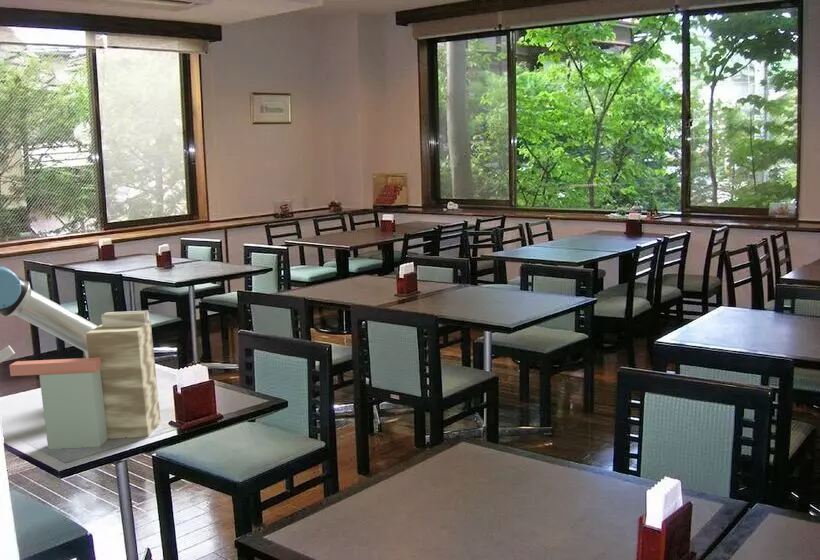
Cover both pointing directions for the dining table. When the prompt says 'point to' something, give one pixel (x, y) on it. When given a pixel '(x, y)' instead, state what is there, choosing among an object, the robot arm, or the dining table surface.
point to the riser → (73, 410)
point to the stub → (55, 366)
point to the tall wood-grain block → (126, 373)
